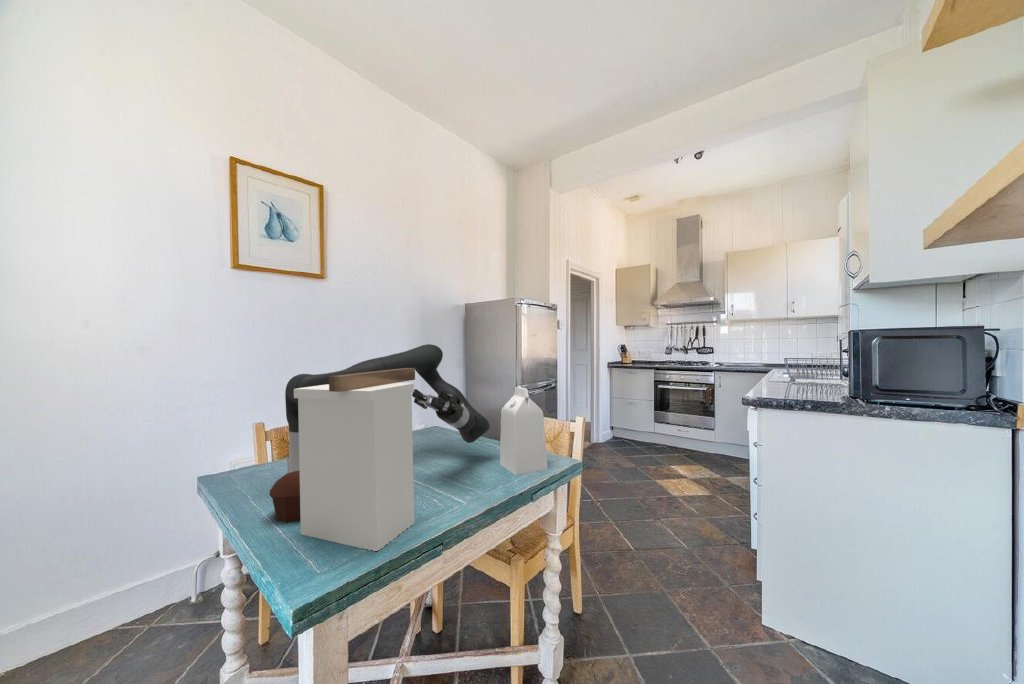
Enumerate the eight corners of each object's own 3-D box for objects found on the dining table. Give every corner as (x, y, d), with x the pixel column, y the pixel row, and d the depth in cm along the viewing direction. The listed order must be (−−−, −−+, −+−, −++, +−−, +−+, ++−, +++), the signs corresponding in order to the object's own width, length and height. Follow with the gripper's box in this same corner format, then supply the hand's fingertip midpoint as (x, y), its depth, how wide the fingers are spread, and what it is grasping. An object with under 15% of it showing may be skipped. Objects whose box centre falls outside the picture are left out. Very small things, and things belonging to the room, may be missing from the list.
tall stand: (296, 536, 78) (293, 388, 78) (347, 508, 91) (344, 382, 91) (373, 554, 71) (370, 391, 71) (417, 521, 84) (413, 383, 84)
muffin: (261, 517, 88) (260, 475, 88) (307, 500, 97) (307, 462, 97) (284, 529, 81) (283, 485, 81) (332, 510, 90) (331, 470, 91)
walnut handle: (329, 391, 72) (328, 376, 72) (405, 379, 94) (405, 368, 94) (340, 391, 71) (340, 376, 71) (415, 379, 93) (414, 368, 93)
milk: (547, 468, 117) (545, 388, 117) (515, 475, 112) (513, 391, 112) (529, 458, 128) (527, 385, 128) (499, 464, 123) (498, 387, 123)
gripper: (436, 400, 118) (409, 380, 105) (475, 402, 113) (452, 380, 100) (430, 422, 114) (401, 404, 101) (470, 425, 109) (445, 406, 96)
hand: (426, 392), depth 101 cm, fingers open, 8 cm apart
